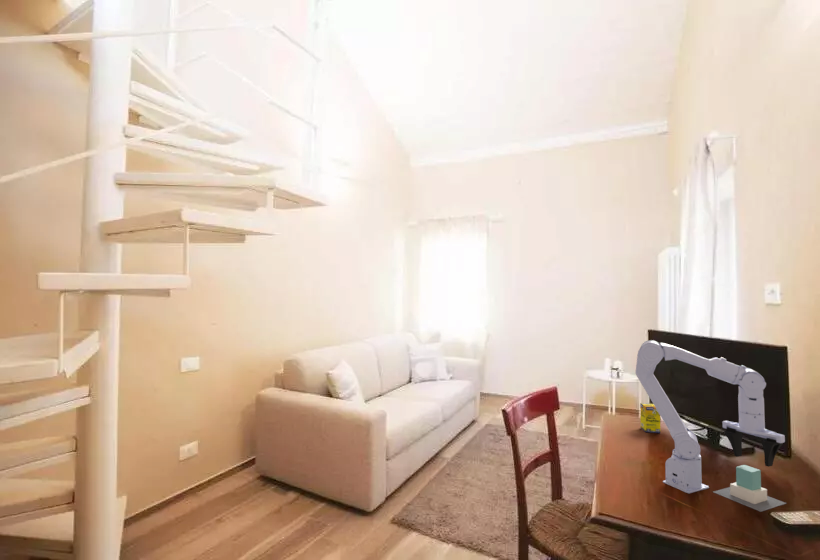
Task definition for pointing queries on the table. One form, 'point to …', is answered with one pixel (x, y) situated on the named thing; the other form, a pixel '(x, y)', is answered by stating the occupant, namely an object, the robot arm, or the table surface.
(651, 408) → the supplement box
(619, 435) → the table surface
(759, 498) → the cream slab
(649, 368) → the robot arm
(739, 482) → the teal block
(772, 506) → the grey flat square plate
